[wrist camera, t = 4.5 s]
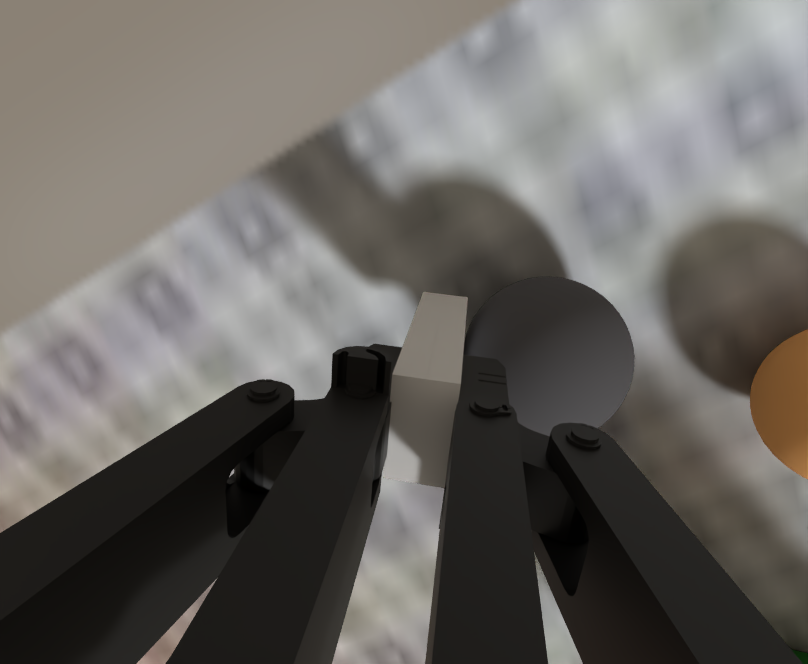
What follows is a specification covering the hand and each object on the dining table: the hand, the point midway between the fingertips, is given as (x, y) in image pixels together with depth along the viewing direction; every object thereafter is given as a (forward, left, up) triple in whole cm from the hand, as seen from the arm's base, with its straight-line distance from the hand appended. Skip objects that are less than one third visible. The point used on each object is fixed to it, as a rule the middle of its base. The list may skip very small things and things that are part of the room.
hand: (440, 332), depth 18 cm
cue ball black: (+4, 0, 0) cm, 4 cm away
